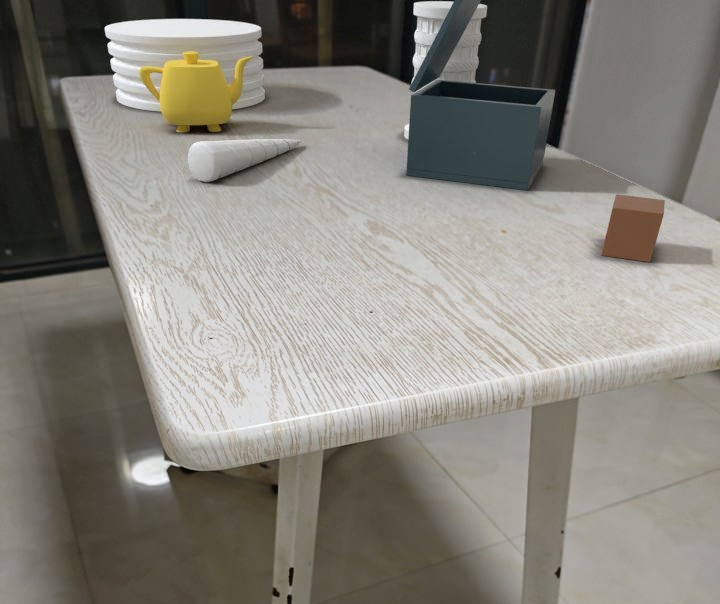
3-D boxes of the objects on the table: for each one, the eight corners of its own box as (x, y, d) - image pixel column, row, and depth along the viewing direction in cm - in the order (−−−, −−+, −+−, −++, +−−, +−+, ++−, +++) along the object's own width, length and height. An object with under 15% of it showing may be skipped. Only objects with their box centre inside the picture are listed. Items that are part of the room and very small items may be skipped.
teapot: (254, 118, 123) (250, 47, 116) (259, 133, 114) (255, 57, 108) (148, 120, 120) (137, 47, 113) (145, 135, 111) (133, 57, 105)
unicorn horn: (321, 149, 107) (320, 114, 104) (214, 186, 91) (210, 146, 88) (296, 144, 109) (294, 110, 106) (187, 180, 93) (182, 141, 90)
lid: (513, -60, 88) (477, -87, 88) (492, -59, 79) (452, -89, 79) (439, 77, 100) (407, 54, 100) (413, 92, 91) (377, 67, 90)
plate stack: (119, 85, 144) (107, 18, 137) (256, 83, 149) (252, 18, 142) (114, 114, 123) (100, 37, 116) (274, 110, 128) (270, 36, 121)
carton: (651, 246, 77) (664, 199, 74) (650, 262, 74) (663, 214, 71) (604, 240, 79) (616, 193, 76) (601, 255, 75) (612, 207, 72)
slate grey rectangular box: (542, 166, 102) (555, 89, 96) (527, 190, 93) (541, 107, 87) (430, 153, 107) (436, 79, 100) (406, 175, 97) (410, 95, 91)
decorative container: (408, 145, 110) (416, 7, 99) (400, 128, 119) (406, 0, 108) (481, 146, 111) (497, 9, 100) (467, 129, 120) (481, 1, 109)
